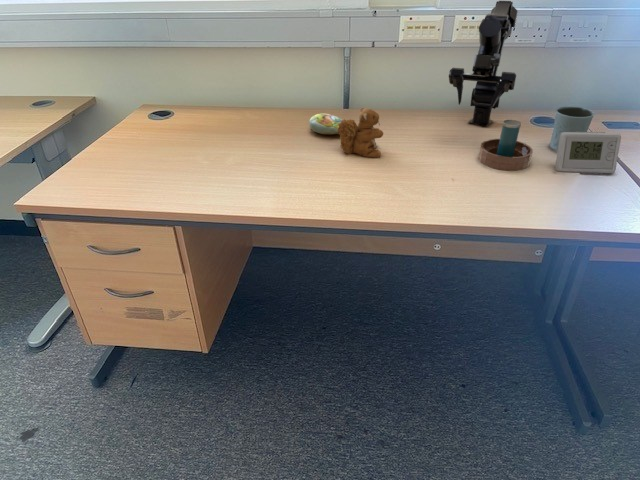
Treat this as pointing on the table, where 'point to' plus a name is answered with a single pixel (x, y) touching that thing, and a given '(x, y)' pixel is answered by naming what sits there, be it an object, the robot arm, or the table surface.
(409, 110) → the table surface
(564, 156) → the digital clock
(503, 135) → the tin
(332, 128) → the decorated easter egg
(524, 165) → the bowl
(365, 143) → the stuffed squirrel
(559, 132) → the grey-green cup
